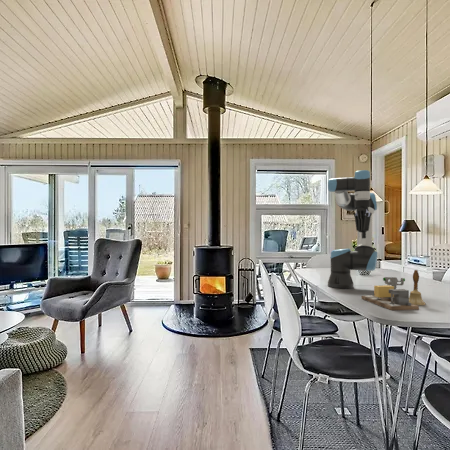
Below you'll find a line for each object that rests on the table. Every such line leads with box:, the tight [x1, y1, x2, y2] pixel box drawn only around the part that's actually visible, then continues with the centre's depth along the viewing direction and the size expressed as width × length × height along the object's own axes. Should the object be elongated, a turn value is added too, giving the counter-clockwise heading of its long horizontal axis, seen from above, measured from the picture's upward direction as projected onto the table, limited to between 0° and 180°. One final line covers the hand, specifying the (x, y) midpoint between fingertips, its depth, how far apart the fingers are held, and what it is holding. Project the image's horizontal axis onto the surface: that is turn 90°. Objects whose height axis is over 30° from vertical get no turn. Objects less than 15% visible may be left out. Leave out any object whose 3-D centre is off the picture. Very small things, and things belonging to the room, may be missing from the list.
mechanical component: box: [382, 276, 406, 289], centre depth 172 cm, size 3×10×10 cm, turn 79°
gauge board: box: [361, 288, 420, 311], centre depth 156 cm, size 24×13×8 cm, turn 8°
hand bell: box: [409, 269, 427, 306], centre depth 156 cm, size 8×8×16 cm
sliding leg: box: [373, 284, 394, 298], centre depth 158 cm, size 4×8×6 cm, turn 98°
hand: (362, 244), depth 173 cm, fingers closed
